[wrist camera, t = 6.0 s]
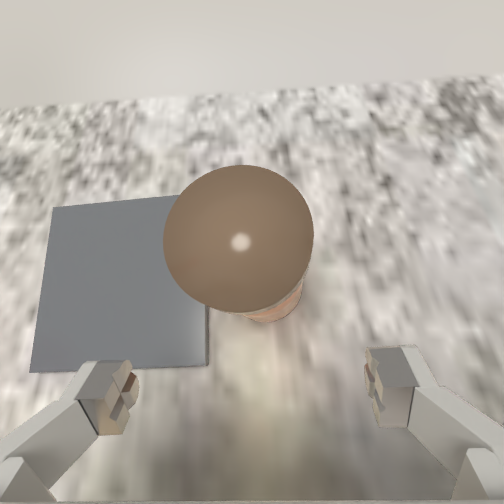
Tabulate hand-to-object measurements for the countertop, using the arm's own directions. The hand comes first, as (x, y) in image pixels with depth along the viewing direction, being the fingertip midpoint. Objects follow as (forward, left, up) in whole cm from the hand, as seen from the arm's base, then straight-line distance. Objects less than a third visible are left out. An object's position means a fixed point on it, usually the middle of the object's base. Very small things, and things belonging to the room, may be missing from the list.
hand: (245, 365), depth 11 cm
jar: (0, -5, -10) cm, 11 cm away
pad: (+10, -6, -10) cm, 15 cm away
